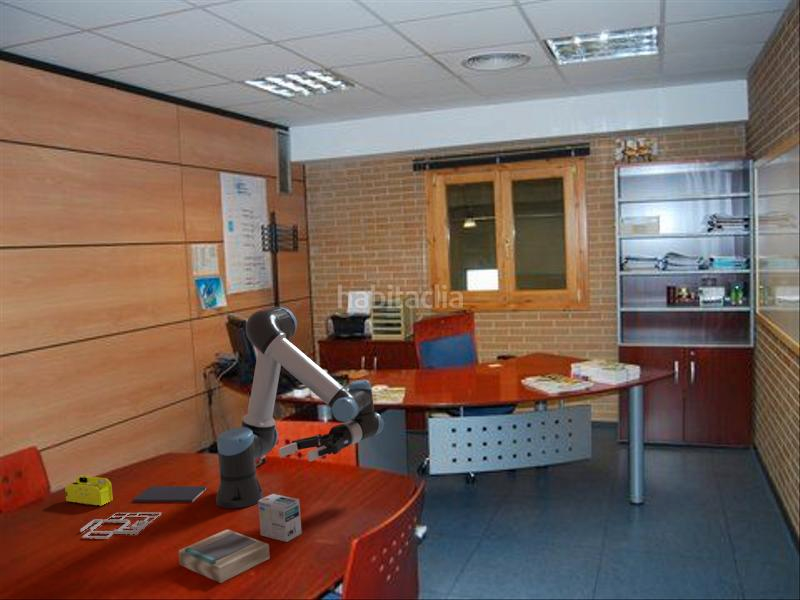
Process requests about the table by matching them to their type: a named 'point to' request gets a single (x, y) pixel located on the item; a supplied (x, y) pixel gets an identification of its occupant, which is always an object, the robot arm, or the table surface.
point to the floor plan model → (120, 531)
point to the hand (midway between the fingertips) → (294, 454)
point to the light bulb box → (279, 517)
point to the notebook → (170, 494)
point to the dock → (224, 555)
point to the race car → (260, 461)
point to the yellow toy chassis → (89, 491)
